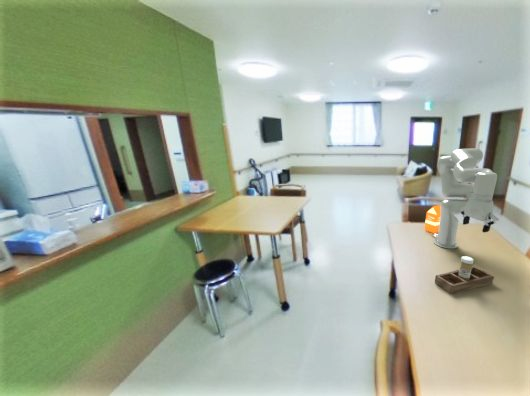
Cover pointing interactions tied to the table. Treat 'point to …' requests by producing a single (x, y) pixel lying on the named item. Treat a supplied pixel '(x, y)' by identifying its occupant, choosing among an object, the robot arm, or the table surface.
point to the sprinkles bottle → (465, 268)
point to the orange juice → (433, 219)
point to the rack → (457, 284)
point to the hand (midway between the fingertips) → (475, 227)
